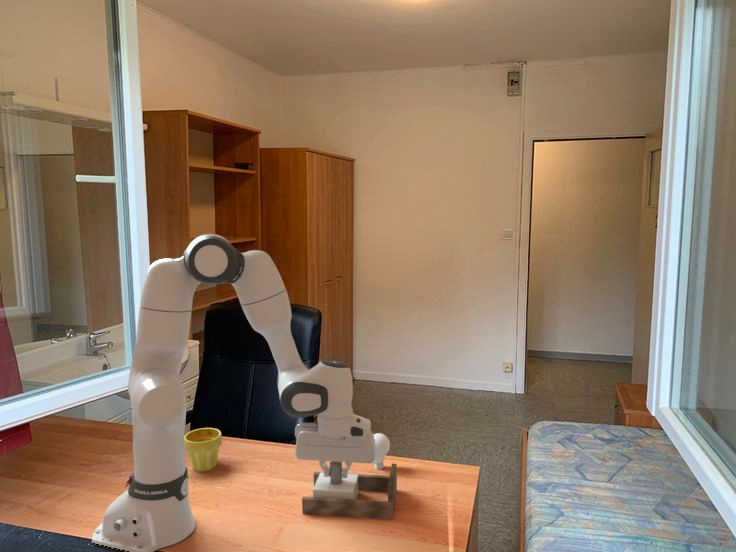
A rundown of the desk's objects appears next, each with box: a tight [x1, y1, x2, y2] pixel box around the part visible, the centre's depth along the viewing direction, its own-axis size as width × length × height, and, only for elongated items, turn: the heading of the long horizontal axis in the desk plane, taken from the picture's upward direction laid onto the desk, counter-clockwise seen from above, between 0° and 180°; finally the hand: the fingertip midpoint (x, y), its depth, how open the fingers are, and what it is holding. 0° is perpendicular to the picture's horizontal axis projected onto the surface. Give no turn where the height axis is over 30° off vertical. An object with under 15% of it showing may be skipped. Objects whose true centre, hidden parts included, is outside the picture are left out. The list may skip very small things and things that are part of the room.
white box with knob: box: [312, 461, 359, 500], centre depth 139 cm, size 10×9×10 cm
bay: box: [301, 463, 398, 521], centre depth 138 cm, size 22×14×9 cm, turn 83°
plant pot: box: [184, 427, 223, 472], centre depth 160 cm, size 10×10×10 cm
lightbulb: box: [373, 432, 391, 471], centre depth 156 cm, size 6×6×11 cm
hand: (336, 476), depth 138 cm, fingers closed on white box with knob, 3 cm apart
